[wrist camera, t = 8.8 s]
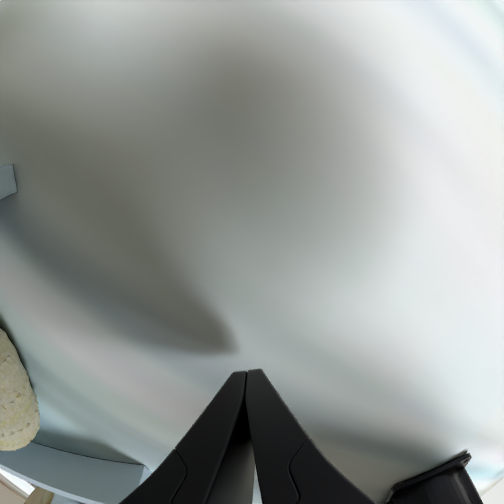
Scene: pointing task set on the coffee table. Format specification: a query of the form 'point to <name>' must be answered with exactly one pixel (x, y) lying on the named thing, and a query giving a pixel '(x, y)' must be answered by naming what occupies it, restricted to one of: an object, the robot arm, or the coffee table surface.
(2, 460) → the corral
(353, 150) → the coffee table surface
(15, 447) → the sea urchin shell
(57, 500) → the ceramic mug
